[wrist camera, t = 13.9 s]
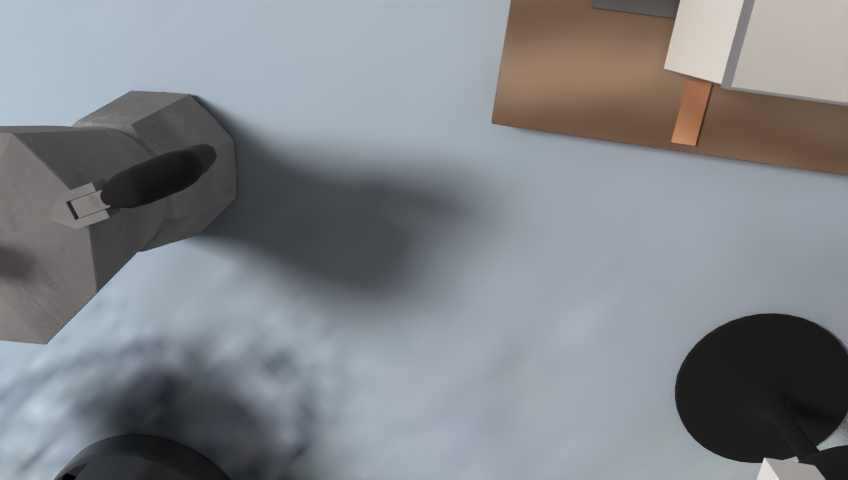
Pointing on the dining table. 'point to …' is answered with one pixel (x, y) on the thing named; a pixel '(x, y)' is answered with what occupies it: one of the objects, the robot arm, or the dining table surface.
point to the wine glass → (767, 392)
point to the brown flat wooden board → (647, 89)
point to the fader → (765, 46)
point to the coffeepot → (102, 201)
